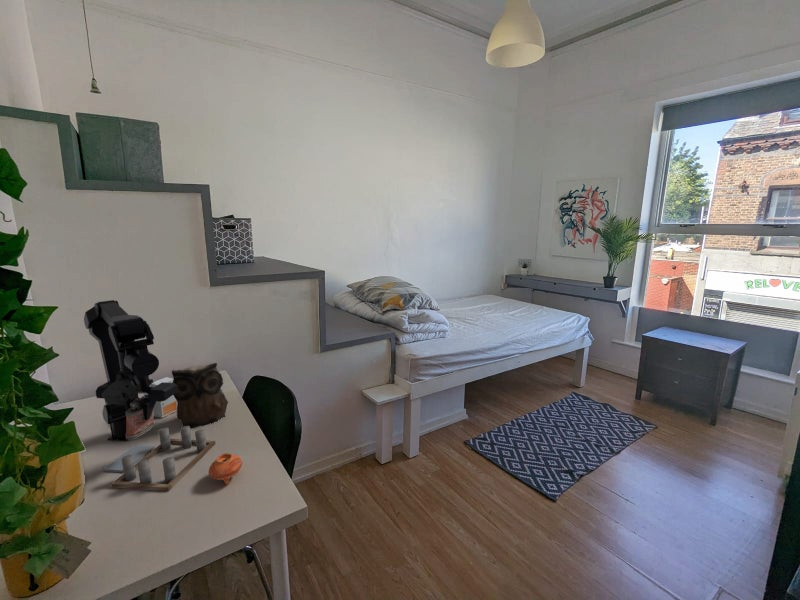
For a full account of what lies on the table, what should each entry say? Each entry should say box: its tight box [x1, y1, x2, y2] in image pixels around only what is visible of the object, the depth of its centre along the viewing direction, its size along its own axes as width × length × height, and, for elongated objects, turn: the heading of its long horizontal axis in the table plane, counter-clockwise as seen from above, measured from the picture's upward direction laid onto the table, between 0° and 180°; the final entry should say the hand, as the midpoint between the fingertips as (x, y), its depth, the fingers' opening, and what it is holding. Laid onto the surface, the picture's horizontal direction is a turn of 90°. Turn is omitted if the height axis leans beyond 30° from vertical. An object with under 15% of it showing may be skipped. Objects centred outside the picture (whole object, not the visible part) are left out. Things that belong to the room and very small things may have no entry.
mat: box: [102, 444, 156, 473], centre depth 102 cm, size 6×11×1 cm, turn 175°
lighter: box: [126, 395, 155, 441], centre depth 99 cm, size 8×3×10 cm, turn 172°
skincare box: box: [150, 376, 178, 419], centre depth 126 cm, size 6×4×12 cm
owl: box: [171, 362, 229, 430], centre depth 121 cm, size 13×13×20 cm
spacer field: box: [110, 426, 216, 492], centre depth 100 cm, size 15×20×6 cm
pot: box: [208, 453, 243, 486], centre depth 95 cm, size 8×8×7 cm
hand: (141, 419), depth 99 cm, fingers closed on lighter, 3 cm apart
